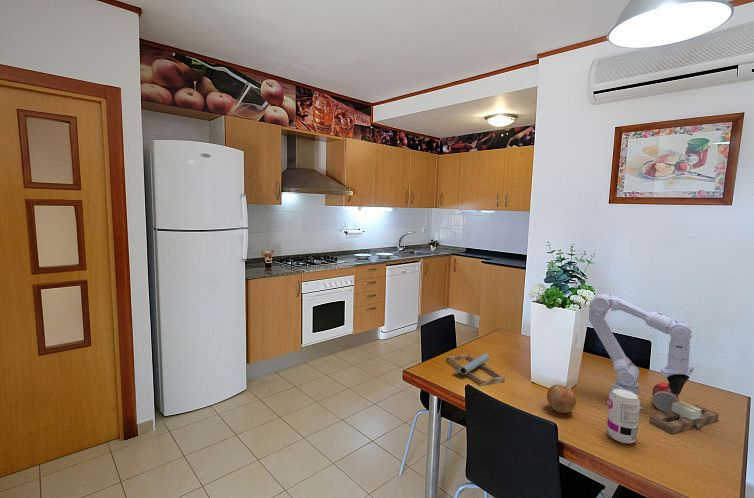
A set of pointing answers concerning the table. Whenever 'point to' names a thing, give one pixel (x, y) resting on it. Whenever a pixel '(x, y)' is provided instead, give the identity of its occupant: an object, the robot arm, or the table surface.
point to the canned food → (663, 397)
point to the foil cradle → (497, 376)
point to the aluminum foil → (473, 364)
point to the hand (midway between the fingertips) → (675, 393)
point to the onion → (561, 398)
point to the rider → (686, 410)
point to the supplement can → (623, 415)
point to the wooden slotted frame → (682, 421)
